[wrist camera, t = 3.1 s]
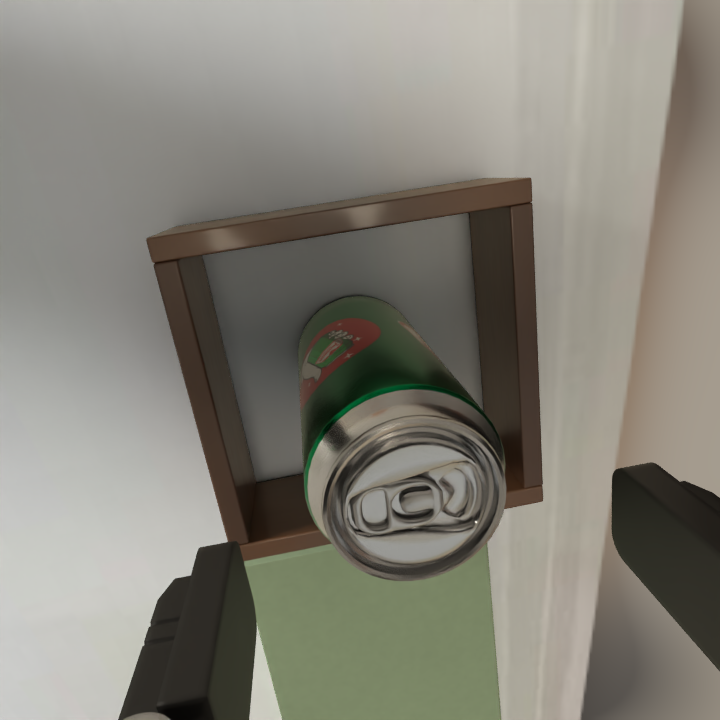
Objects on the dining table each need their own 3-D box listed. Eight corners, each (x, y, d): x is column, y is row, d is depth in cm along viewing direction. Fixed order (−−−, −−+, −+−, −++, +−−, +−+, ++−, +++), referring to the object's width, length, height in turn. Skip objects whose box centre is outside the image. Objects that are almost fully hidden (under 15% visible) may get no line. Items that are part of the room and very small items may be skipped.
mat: (304, 793, 32) (304, 804, 31) (242, 558, 26) (241, 567, 26) (500, 747, 33) (504, 757, 32) (481, 511, 27) (485, 518, 27)
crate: (242, 500, 25) (233, 564, 21) (173, 226, 21) (144, 238, 17) (502, 449, 26) (544, 502, 22) (485, 178, 22) (532, 177, 18)
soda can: (417, 393, 25) (526, 574, 13) (307, 412, 24) (322, 613, 13) (407, 285, 23) (520, 384, 12) (288, 302, 23) (287, 424, 11)
